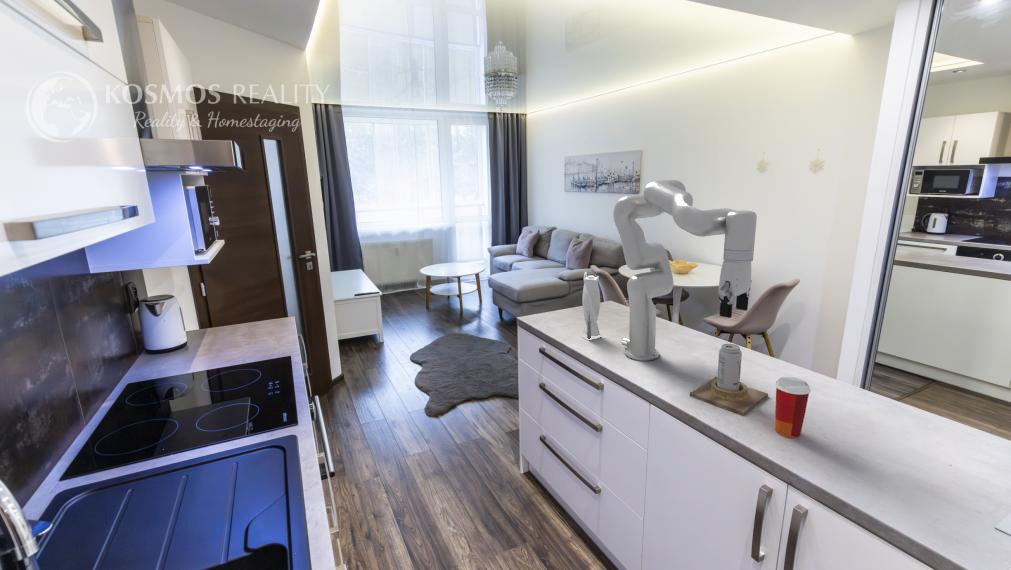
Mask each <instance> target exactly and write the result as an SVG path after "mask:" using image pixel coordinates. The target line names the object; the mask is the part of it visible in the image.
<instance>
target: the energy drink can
mask: <svg viewBox="0 0 1011 570" xmlns="http://www.w3.org/2000/svg"><path fill="white" fill-rule="evenodd" d="M742 353H743V352H742V350H741V347H740V346H739V345H737V344H734V343H733V344H732V343H723V344H722V345H721V348H719V350H718V363H717V364H718V365H717V376H716V377H717V387H718V388H720V389H722V390H725V391H732V392H737V391H739V385H740V382H741V372H742V371H741V370H742V369H741V368H742V355H743V354H742Z"/></svg>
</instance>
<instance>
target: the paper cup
mask: <svg viewBox="0 0 1011 570" xmlns="http://www.w3.org/2000/svg"><path fill="white" fill-rule="evenodd" d="M774 387H775V410H774V411H775V412H774V413H775V416H774V419H775V420H774V421H775V422H774V429H775V433H776V434H778V435H780V436H783V437H785V438H789V439H797V438H799V437H800V436H801V434H802V431H803V430H802V429H803V425H804V424H803V423H804V420H805V416H806V413H807V412H806V410H807V406H808V399H809V394H810V393H811V392H812V389H811V387H810V385H809V383H807V381H805V380H804V379H800V378H797V377H793V376H792V377H791V376H781V377H779V378H778V379H777V380H776V381H775V383H774Z"/></svg>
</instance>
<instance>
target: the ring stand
mask: <svg viewBox="0 0 1011 570" xmlns="http://www.w3.org/2000/svg"><path fill="white" fill-rule="evenodd" d="M717 377H718V376H714V377H713V378H712V379H710V380H708V381H707V382H705V383H703V384H702V385H700V386H698V387H696V388H695V389H694V390H692V391H690V392H689V397H692V398H695V399H698V400H700V401H702V402H705V403H708V404H711V405H713V406H716V407H719V408H721V409H723V410H727V411H730V412H733V413H735V414H738V415H740V416H745V415H746V414H747V413H749V412H750V411H752V410H753V409H754V408H755V407H757V406H758V405H759V404H760V403H762V402H763V401H764V400H766V399H767V398H768V397H769V393H768V392H765V391H762V390H758V389H755V388H752V387H749V386H748V385H746V384H744V382H742V381H740V385H739V391H737V392H732V391H725V390H722V389H720V388H718V387H717Z"/></svg>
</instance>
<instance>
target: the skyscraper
mask: <svg viewBox="0 0 1011 570" xmlns="http://www.w3.org/2000/svg"><path fill="white" fill-rule="evenodd" d="M599 278H600V277H599V275H597V276H595V275H588V271H585V272H584V274H583V283H584V284H583V287H582V298H581V299H582V310H583V311H582V312H583V317H584V321H585V323H584V327H583V331H582V334H583V333H585V334H586V335H587V338H588V339H590V338H591V336H598V335H600V336H601V333H600V330H599V326H598V317H599V314H600V308H601V293H600V287H599V282H598V281H599Z"/></svg>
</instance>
